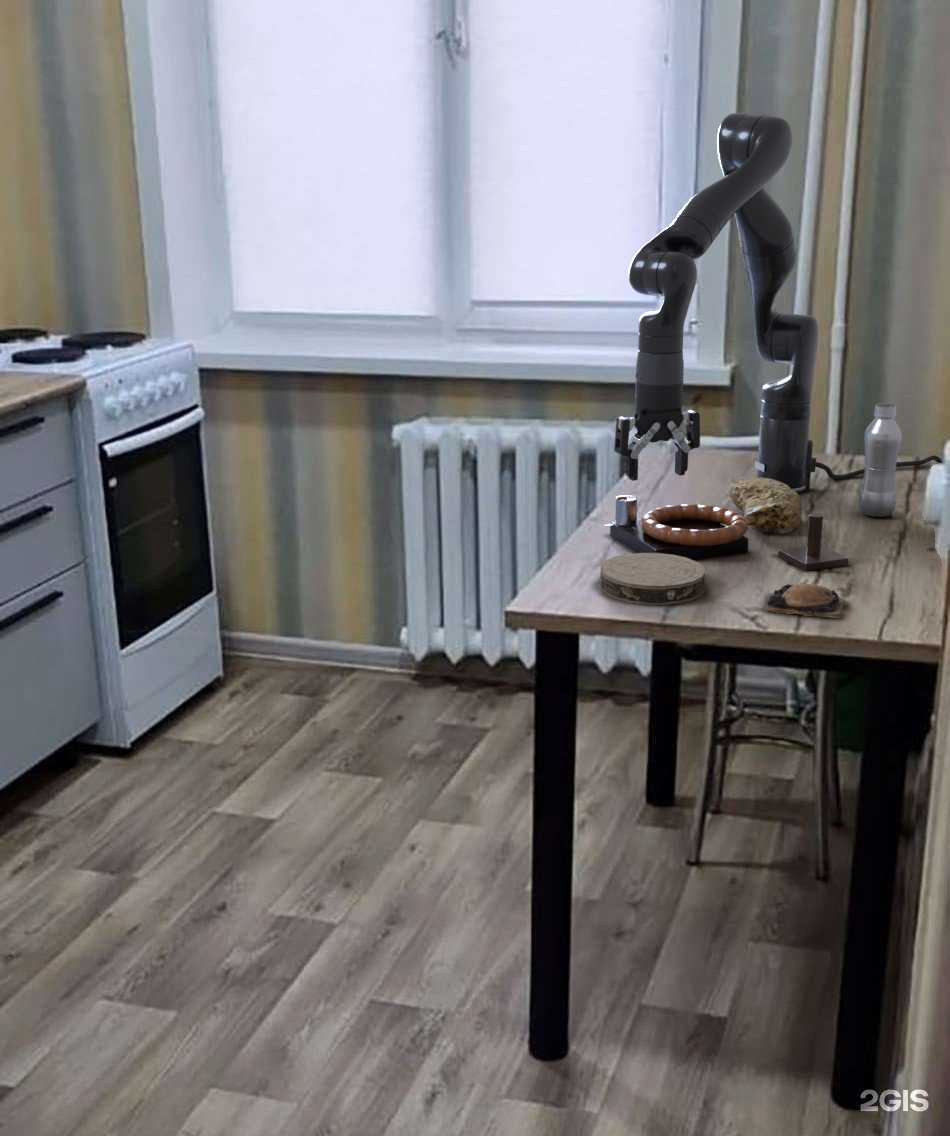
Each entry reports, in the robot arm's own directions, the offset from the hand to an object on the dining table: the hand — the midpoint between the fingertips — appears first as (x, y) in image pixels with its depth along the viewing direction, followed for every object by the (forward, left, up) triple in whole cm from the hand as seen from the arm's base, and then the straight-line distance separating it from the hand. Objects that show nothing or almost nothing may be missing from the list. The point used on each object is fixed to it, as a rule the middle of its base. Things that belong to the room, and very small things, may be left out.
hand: (656, 476), depth 222 cm
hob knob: (+1, -8, -10) cm, 13 cm away
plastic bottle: (-46, -4, -13) cm, 48 cm away
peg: (-21, +14, -13) cm, 29 cm away
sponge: (-26, -9, -13) cm, 31 cm away
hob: (-4, -3, -13) cm, 14 cm away
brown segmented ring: (-7, 0, -9) cm, 11 cm away
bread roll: (-8, +32, -13) cm, 36 cm away
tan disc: (+9, +16, -13) cm, 22 cm away
